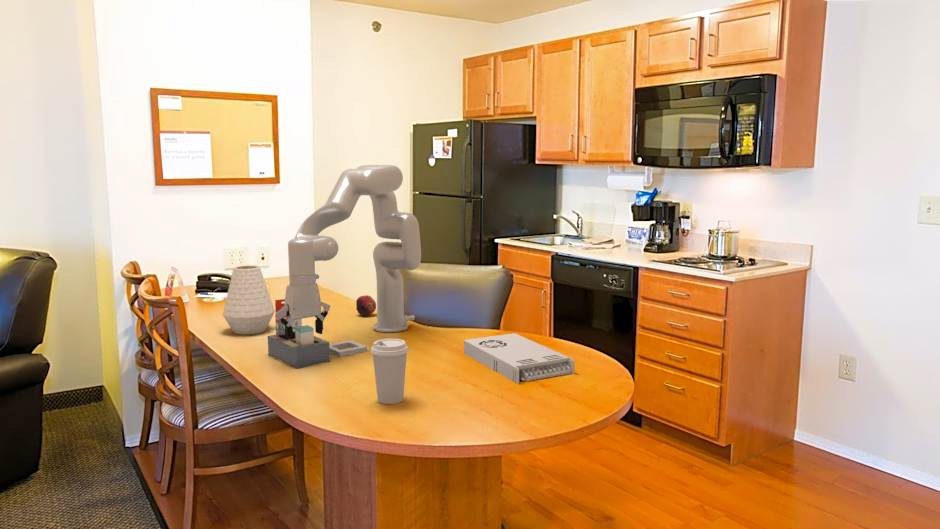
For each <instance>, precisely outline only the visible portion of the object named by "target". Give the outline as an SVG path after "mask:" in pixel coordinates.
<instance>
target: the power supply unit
mask: <svg viewBox="0 0 940 529" xmlns="http://www.w3.org/2000/svg"><path fill="white" fill-rule="evenodd" d="M463 354H464V355H466V356H467V357H469V358H471V359H474V361H477V362H478V363H480V364H481V365H483V366H486V367H487V368H489V369H491V370H492V371H494V372H496V373H498V374H499V375H501V376H504V377H505V378H506V379H508V380H510V381H512V382H514V383H515V384H518V385H520V381H523V382H529V381H534V380H536V381H538V380H540V379H541V380H543V379H547V378H553V377H555V378H556V377H558V376H563V375H564V376H566V375H575V359H574V358H572V357H570V356H567V355H565V354H564V353H563V354H562V353H561V352H559V351H557V350H554V349H551V348H549V347H548V346H544V345H542V344H540V343H537V342H536V341H533V340H531V339H528V338H527V337H524V336H522V335H520V334H518V333H515V332H513V333H507V334H498V335H491V336H485V337H477V338H471V339H469V338H468V339H464V340H463Z"/></svg>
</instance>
